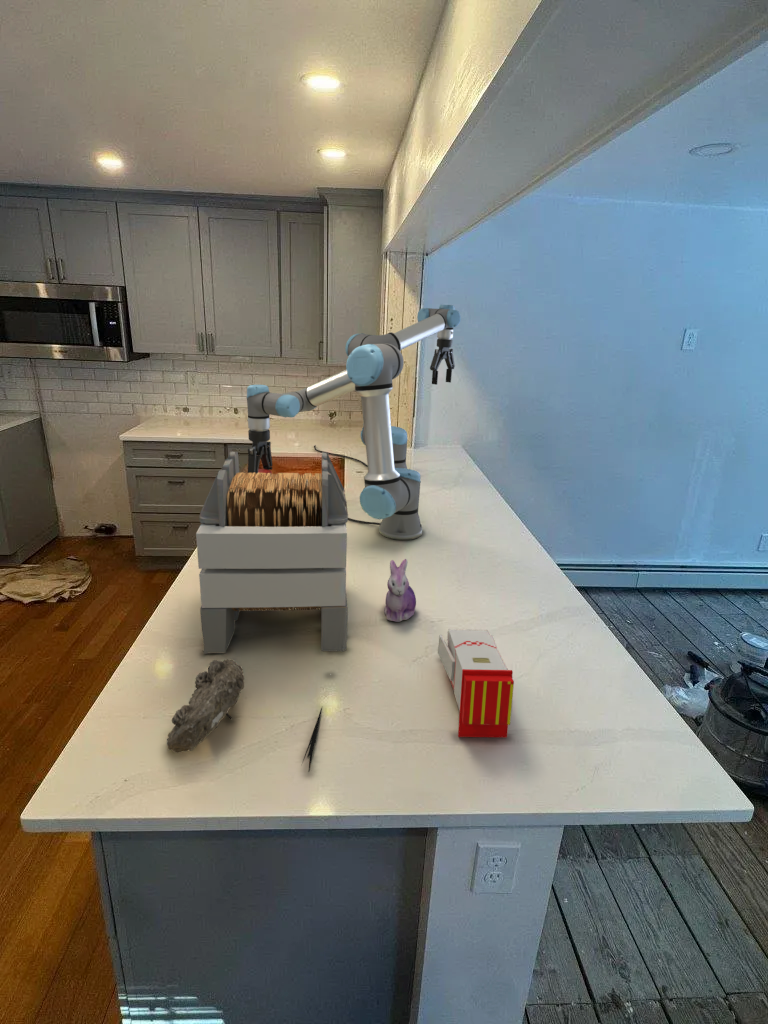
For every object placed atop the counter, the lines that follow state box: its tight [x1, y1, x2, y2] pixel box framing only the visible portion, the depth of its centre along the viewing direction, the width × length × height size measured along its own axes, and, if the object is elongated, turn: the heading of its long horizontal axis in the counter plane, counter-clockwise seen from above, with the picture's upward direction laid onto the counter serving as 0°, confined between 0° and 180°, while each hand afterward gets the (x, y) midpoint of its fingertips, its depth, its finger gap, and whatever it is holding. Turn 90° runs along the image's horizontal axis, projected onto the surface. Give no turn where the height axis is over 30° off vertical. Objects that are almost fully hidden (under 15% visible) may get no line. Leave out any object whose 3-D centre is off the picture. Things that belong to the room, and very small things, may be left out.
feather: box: [301, 673, 332, 771], centre depth 108 cm, size 2×28×2 cm
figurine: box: [384, 558, 417, 623], centre depth 145 cm, size 9×10×15 cm
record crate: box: [195, 450, 349, 655], centre depth 137 cm, size 34×33×41 cm
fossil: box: [166, 658, 245, 754], centre depth 106 cm, size 22×10×15 cm
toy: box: [437, 628, 515, 738], centre depth 117 cm, size 12×13×30 cm
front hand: (261, 489), depth 210 cm, fingers closed on can, 8 cm apart
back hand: (441, 383), depth 281 cm, fingers open, 13 cm apart
